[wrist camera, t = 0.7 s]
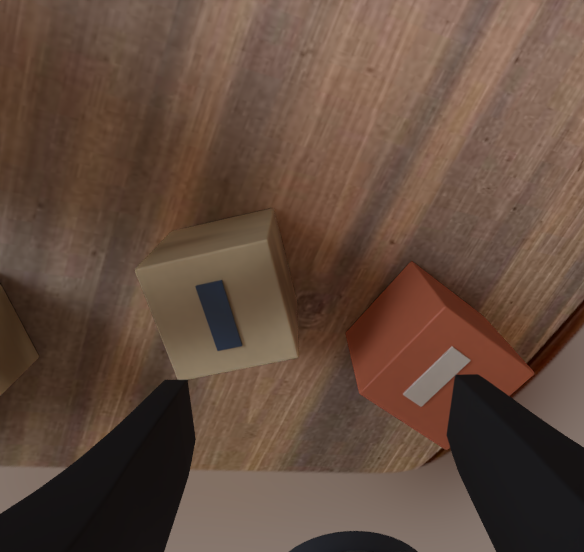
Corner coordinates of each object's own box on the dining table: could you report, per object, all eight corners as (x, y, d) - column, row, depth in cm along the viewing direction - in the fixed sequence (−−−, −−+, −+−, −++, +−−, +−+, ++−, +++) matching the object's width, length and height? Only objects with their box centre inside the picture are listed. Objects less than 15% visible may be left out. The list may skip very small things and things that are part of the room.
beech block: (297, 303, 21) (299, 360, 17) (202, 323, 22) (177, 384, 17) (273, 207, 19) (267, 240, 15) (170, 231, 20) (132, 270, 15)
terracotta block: (415, 381, 23) (447, 453, 18) (344, 332, 22) (358, 395, 17) (483, 316, 22) (537, 375, 17) (410, 260, 20) (446, 306, 16)
